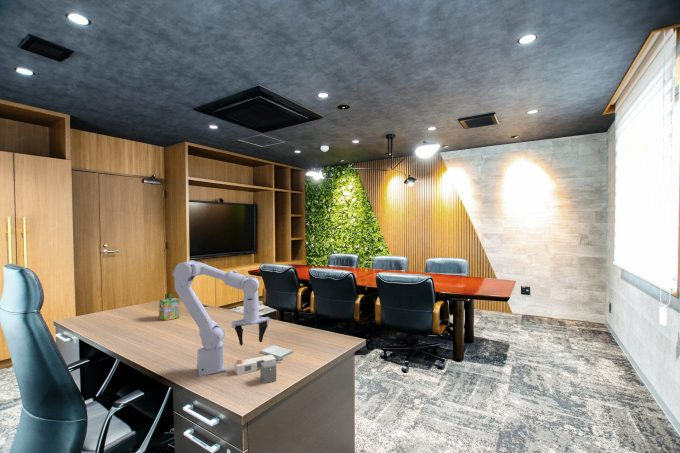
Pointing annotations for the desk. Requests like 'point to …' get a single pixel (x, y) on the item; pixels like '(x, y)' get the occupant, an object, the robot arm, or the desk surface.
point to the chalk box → (169, 308)
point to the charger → (268, 371)
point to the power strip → (252, 364)
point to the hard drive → (276, 351)
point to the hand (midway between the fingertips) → (250, 343)
